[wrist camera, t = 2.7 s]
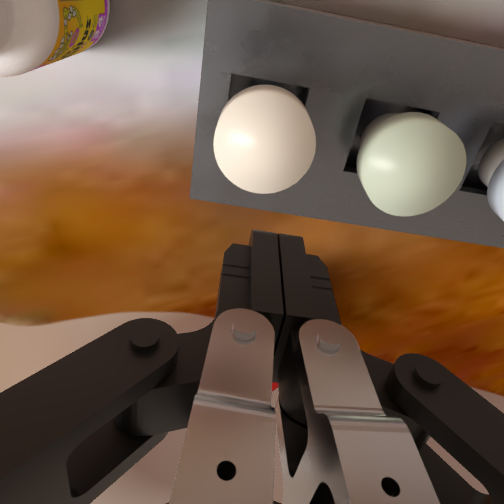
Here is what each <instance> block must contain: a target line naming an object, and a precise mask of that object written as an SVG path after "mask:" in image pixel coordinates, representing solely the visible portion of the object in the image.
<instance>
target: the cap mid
mask: <svg viewBox="0 0 504 504" xmlns="http://www.w3.org/2000/svg"><path fill="white" fill-rule="evenodd" d="M465 169H466V151H465V148H464V145H463V143H462V141H461V139H460V138H459V137H458V135H457V134H456V133H454V132H453V131H452V130H451V129H449V128H448V127H447V126H445V125H444V124H443V123H441V122H440V121H439V120H437V119H436V118H434V117H433V116H430V115H428V114H425V113H420V112H406V113H396V112H394V113H386V114H383V115H381V116H379V117H377V118H375V119H374V120H373V121H372V122H370V123H369V124H368V126H367V127H366V128H365V130H364V132H363V133H362V136H361V139H360V150H359V152H358V156H357V173H358V177H359V179H360V181H361V183H362V185H363V187H364V189H365V191H366V193H367V195H368V197H369V199H370V200H371V202H372V203H373V204H374V205H375V206H376V207H377V208H379V209H380V210H382V211H383V212H385V213H388V214H391V215H395V216H415V215H419V214H422V213H425V212H428V211H430V210H432V209H434V208H436V207H437V206H439V205H440V204H442V203H443V202H445V201H446V200H447V199H448V198H449V197H450V196H451V195H452V194H453V193H454V191H455V190H456V189H457V187H458V186H459V184H460V182H461V180H462V178H463V175H464V172H465Z"/></svg>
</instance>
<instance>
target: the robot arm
mask: <svg viewBox="0 0 504 504" xmlns="http://www.w3.org/2000/svg"><path fill="white" fill-rule="evenodd" d="M272 382H274V383H278V387H279V395H278V398H277V401H276V404H275V408H273V407H271V397H272V396H271V395H272ZM276 427H277V435H278V443H279V451H280V459H281V467H282V475H283V484H284V495H283V503H282V504H504V414H503V413H502V412H501V411H500V410H498V409H497V408H496V407H495V406H493V405H492V404H491V403H489V402H488V401H487V400H486V399H484V398H483V397H482V396H481V395H479V394H478V393H477V392H475V391H474V390H473V389H472V388H470V387H469V386H468V385H467V384H465V383H464V382H463V381H462V380H460V379H459V378H458V377H456V376H455V375H454V374H453V373H451V372H450V371H449V370H447V369H446V368H445V367H444V366H442V365H441V364H440V363H438V362H437V361H435V360H433V359H431V358H429V357H426V356H424V355H420V354H413V353H410V354H404V355H402V356H400V357H399V358H398V359H397V360H396V362H395V363H394V364H392V363H390V362H387V361H384V360H382V359H379V358H377V357H374V356H372V355H369V354H367V353H365V352H363V351H362V350H360V348H359V346H358V343H357V341H356V339H355V337H354V336H353V335H352V334H351V332H350V331H348V330H347V329H346V328H345V327H343V326H342V325H341V322H340V318H339V314H338V310H337V306H336V302H335V298H334V294H333V291H332V286H331V282H330V278H329V274H328V270H327V267H326V266H325V264H324V263H323V262H322V261H321V260H320V258H319V257H318V256H315V255H308V254H306V252H305V246H304V241H303V237H299V236H293V235H286V234H279V233H278V234H277V233H272V232H266V231H259V230H252V232H251V237H250V242H249V246H247V245H240V244H232V245H231V246H230V247H229V248H228V249H227V250H226V251H225V253H224V259H223V265H222V272H221V278H220V284H219V290H218V298H217V306H216V314H215V319H214V320H213V322H212V323H210V324H209V325H208V326H206V327H205V328H203V329H200V330H198V331H194V332H189V333H182V334H177V333H176V331H175V330H174V329H173V328H172V327H171V326H170V325H168V324H167V323H165V322H163V321H160V320H157V319H152V318H140V319H135V320H131V321H128V322H126V323H124V324H122V325H121V326H119V327H117V328H115V329H113V330H111V331H110V332H108V333H106V334H104V335H103V336H101V337H99V338H97V339H95V340H94V341H92V342H90V343H88V344H87V345H85V346H83V347H81V348H79V349H78V350H76V351H74V352H72V353H70V354H69V355H67V356H65V357H63V358H62V359H60V360H58V361H56V362H54V363H53V364H51V365H49V366H47V367H46V368H44V369H42V370H40V371H38V372H37V373H35V374H33V375H31V376H30V377H28V378H26V379H24V380H23V381H21V382H19V383H17V384H15V385H14V386H12V387H10V388H8V389H6V390H5V391H3V392H1V393H0V504H90V503H91V502H92V501H93V500H94V499H96V497H98V496H99V495H100V494H101V493H102V492H104V491H105V490H106V489H107V488H108V487H109V486H110V485H111V484H113V483H114V482H115V481H116V480H117V479H118V478H119V477H121V476H122V475H123V474H124V473H125V472H126V471H128V470H129V469H130V468H131V467H132V466H133V465H134V464H135V463H137V462H138V461H139V460H140V459H141V458H142V457H143V456H145V455H146V454H147V453H148V452H149V451H150V450H151V449H152V448H154V447H155V446H156V445H157V444H158V443H159V442H161V441H162V440H163V439H164V438H165V436H166V435H167V433H168V432H169V431H174V430H178V429H182V428H187V431H186V435H185V439H184V443H183V447H182V451H181V456H180V459H179V464H178V468H177V472H176V476H175V480H174V484H173V488H172V493H171V497H170V501H169V503H167V504H281V503H278V502H276V501H273V488H274V462H275V461H274V458H275V434H276ZM430 437H432V438H433V439H434V440H436V441H437V443H439V444H440V445H441V446H442V447H443V448H444V449H445V450H446V451H447V452H448V453H450V455H452V456H453V457H454V458H455V459H456V460H457V461H458V462H459V463H460V464H461V465H462V466H463V467H465V468H466V469H467V470H468V471H469V472H470V473H471V474H472V475H473V476H474V477H475V478H476V479H478V480H479V481H480V482H481V483H482V484H483V485H484V487H485V488H486V489H487V491H488V492H489V495H486V494H483V493H480V492H478V491H477V490H475V489H474V488H473V487H472V486H470V485H469V484H468V483H467V482H466V481H465V480H464V479H463V478H462V477H461V476H460V475H459V474H458V473H457V472H456V471H455V470H453V469H452V468H451V467H450V466H449V465H448V464H447V463H446V462H445V461H444V460H443V459H442V458H441V457H440V456H439V455H438V454H436V453H435V452H434V451H433V450H432V449H431V448H430V447H429V446H428V445H427V444H426V442H427V441H428V440H429V438H430Z"/></svg>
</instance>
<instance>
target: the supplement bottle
mask: <svg viewBox="0 0 504 504" xmlns="http://www.w3.org/2000/svg"><path fill="white" fill-rule="evenodd" d="M109 13H110V1H109V0H0V77H8V76H15V75H20V74H23V73H26V72H29V71H32V70H34V69H37V68H39V67H42V66H45V65H48V64H51V63H54V62H56V61H59V60H62V59H64V58H67V57H70V56H72V55H75V54H78V53H80V52H83V51H85V50H87V49H89V48H90V47H92V46H93V45H94V44H95V43H97V42H98V40H99V39H100V38H101V36H102V35H103V33H104V31H105V29H106V27H107V23H108V20H109Z"/></svg>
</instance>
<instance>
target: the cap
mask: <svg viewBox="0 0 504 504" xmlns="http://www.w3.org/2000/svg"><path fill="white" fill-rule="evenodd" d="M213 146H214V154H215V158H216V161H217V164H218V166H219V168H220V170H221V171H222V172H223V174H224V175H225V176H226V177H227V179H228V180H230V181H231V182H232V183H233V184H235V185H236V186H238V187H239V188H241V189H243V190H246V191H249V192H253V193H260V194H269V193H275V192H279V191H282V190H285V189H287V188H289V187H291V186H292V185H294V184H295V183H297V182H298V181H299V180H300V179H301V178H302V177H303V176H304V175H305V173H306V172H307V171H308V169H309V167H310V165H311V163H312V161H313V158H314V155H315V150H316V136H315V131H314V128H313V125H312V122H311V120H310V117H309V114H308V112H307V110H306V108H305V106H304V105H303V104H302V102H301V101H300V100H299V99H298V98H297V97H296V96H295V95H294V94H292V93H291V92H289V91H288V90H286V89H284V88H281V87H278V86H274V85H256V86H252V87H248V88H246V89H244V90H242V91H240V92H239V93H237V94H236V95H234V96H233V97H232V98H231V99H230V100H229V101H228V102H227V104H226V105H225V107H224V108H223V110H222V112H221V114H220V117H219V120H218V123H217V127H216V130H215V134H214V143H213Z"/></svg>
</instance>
